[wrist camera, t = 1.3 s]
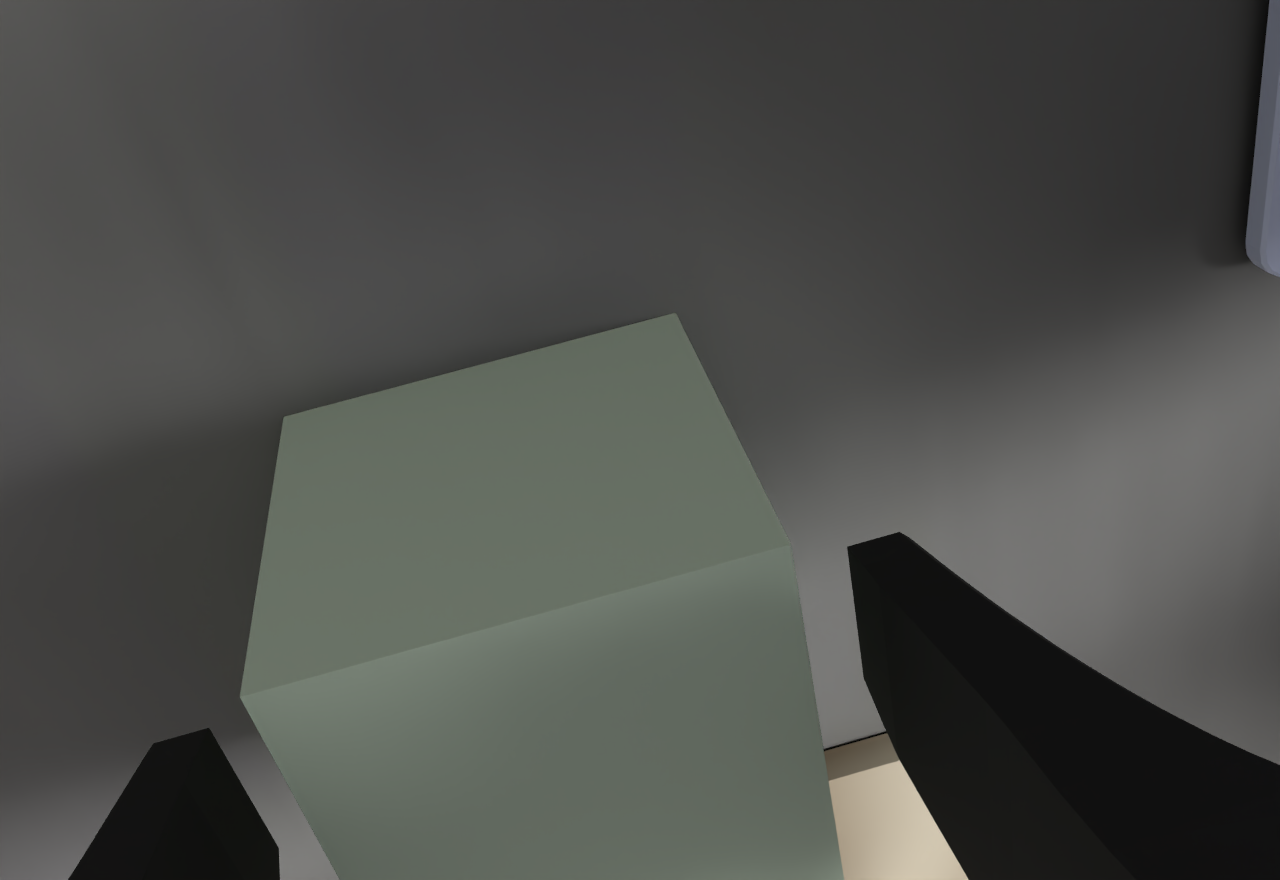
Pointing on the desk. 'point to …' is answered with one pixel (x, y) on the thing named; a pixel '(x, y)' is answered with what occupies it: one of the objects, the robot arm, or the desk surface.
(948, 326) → the desk surface
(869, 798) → the baseplate
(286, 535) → the sage cube
